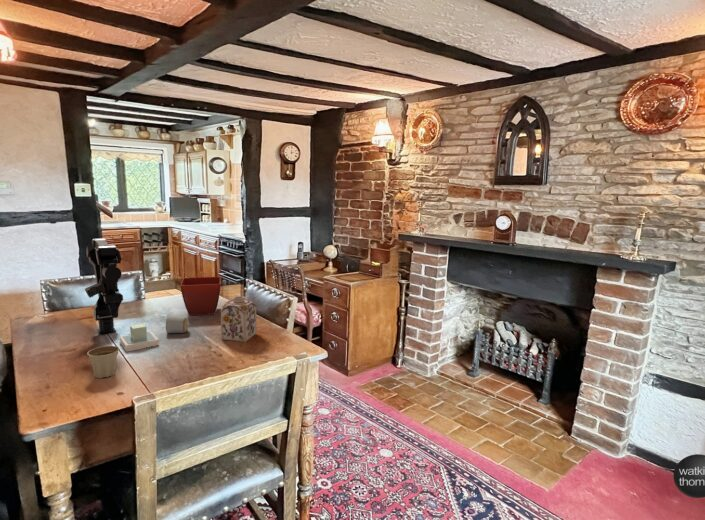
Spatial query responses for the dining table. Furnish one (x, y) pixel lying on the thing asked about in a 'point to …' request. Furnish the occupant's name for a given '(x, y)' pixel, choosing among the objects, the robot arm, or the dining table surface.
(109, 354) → the flower pot
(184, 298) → the plant pot
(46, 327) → the dining table surface
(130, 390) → the dining table surface
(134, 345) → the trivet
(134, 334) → the cube
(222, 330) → the decorative jar
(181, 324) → the ceramic mug
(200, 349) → the dining table surface
